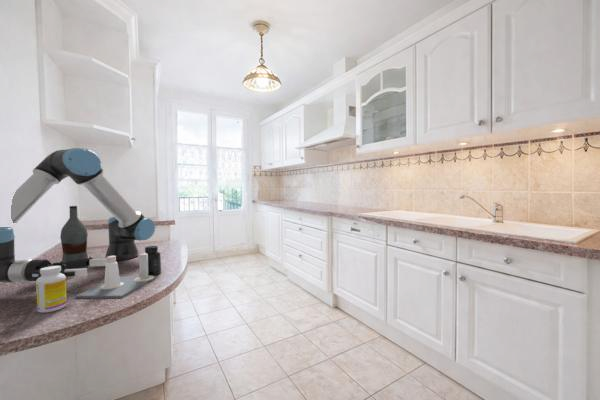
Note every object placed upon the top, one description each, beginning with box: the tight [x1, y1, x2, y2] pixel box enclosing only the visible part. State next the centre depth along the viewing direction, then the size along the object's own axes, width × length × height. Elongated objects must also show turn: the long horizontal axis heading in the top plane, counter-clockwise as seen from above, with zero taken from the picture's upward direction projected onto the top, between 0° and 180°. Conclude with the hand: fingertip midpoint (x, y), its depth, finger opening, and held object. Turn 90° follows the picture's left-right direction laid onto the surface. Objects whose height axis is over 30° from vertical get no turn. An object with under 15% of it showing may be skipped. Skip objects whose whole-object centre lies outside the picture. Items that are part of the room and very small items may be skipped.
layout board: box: [75, 252, 157, 299], centre depth 98 cm, size 20×16×11 cm
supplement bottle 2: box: [144, 245, 162, 276], centre depth 114 cm, size 7×7×12 cm
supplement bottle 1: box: [35, 266, 68, 314], centre depth 80 cm, size 7×7×13 cm
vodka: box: [59, 205, 89, 270], centre depth 117 cm, size 9×9×30 cm
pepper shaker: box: [103, 256, 121, 288], centre depth 97 cm, size 5×5×11 cm
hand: (98, 266), depth 96 cm, fingers open, 13 cm apart
